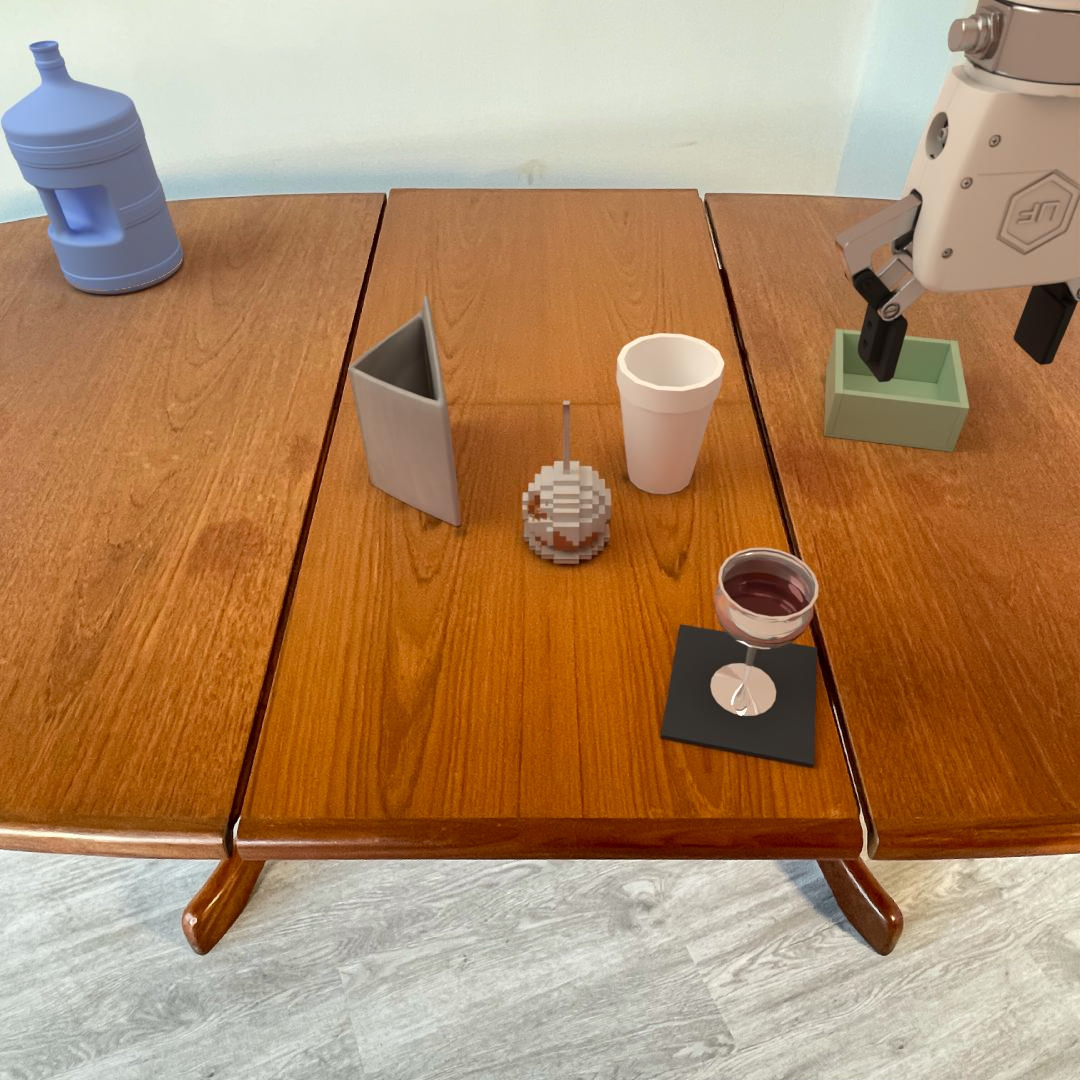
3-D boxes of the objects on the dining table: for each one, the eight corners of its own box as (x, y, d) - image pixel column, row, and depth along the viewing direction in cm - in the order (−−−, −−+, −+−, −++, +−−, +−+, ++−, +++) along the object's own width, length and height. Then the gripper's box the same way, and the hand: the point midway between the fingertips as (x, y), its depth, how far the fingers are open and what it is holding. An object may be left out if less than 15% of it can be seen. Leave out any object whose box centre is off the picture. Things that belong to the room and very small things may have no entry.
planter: (366, 435, 93) (331, 263, 79) (440, 424, 94) (419, 253, 80) (377, 539, 81) (339, 358, 68) (462, 526, 82) (441, 345, 69)
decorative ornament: (526, 509, 84) (520, 375, 73) (607, 509, 83) (613, 375, 73) (522, 567, 78) (515, 431, 68) (610, 568, 78) (616, 431, 67)
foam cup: (654, 433, 92) (664, 322, 83) (726, 472, 87) (745, 359, 78) (592, 474, 87) (596, 362, 78) (665, 518, 82) (677, 404, 73)
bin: (942, 383, 97) (957, 340, 94) (952, 452, 89) (969, 408, 85) (825, 370, 100) (835, 328, 96) (824, 436, 91) (835, 392, 87)
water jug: (140, 234, 129) (64, 19, 110) (209, 262, 122) (141, 37, 103) (43, 277, 120) (-58, 51, 101) (112, 309, 113) (18, 73, 94)
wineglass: (681, 691, 68) (697, 584, 59) (731, 640, 71) (753, 533, 63) (756, 742, 64) (785, 636, 56) (805, 686, 68) (838, 578, 59)
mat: (816, 651, 71) (817, 647, 70) (812, 768, 63) (814, 764, 63) (679, 627, 73) (680, 623, 72) (660, 738, 65) (660, 734, 65)
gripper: (915, 77, 37) (836, 412, 49) (1295, 46, 38) (1129, 380, 50) (846, 32, 43) (790, 343, 54) (1182, 5, 44) (1056, 315, 55)
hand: (953, 360), depth 52 cm, fingers open, 9 cm apart
